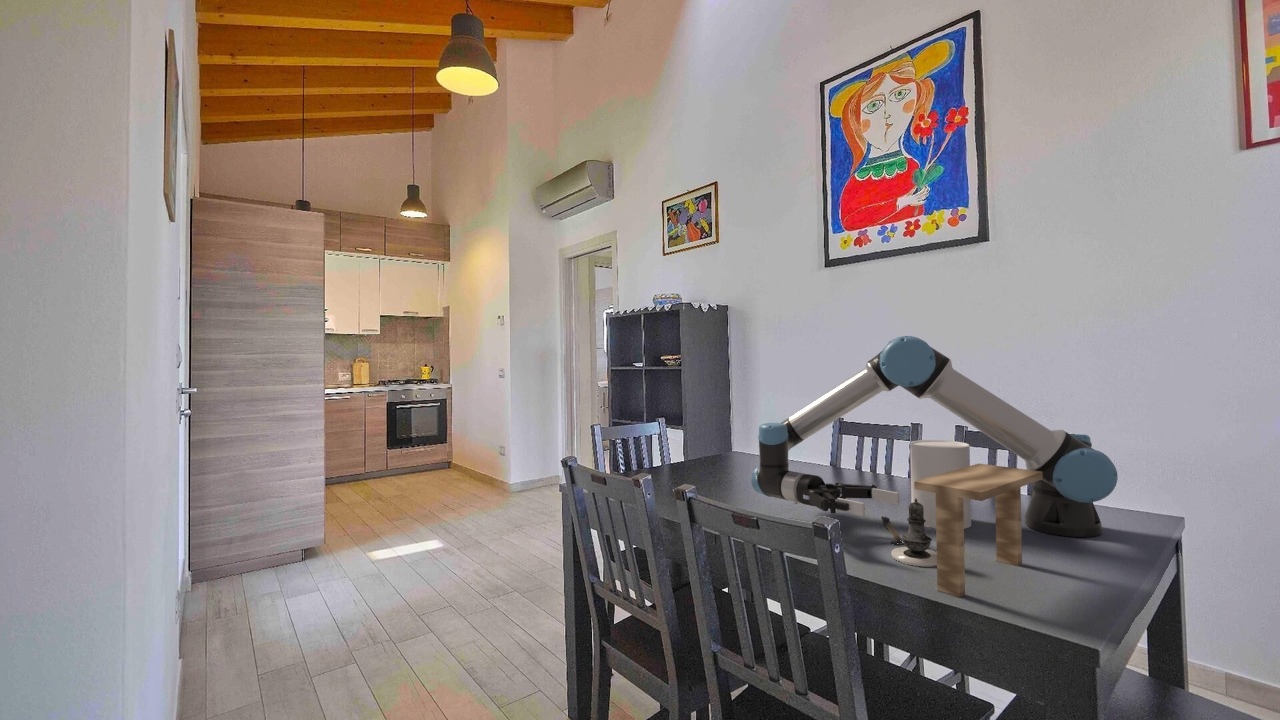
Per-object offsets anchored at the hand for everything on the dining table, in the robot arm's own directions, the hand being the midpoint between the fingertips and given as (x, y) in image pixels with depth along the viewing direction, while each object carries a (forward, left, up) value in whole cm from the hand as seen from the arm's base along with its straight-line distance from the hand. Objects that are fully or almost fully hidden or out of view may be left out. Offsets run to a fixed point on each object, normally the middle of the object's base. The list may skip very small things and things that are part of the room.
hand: (881, 504), depth 131 cm
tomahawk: (-8, -12, -11) cm, 18 cm away
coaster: (-5, +6, -10) cm, 13 cm away
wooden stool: (-14, +16, -10) cm, 23 cm away
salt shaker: (-5, +6, -10) cm, 12 cm away
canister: (-22, -21, -10) cm, 32 cm away
